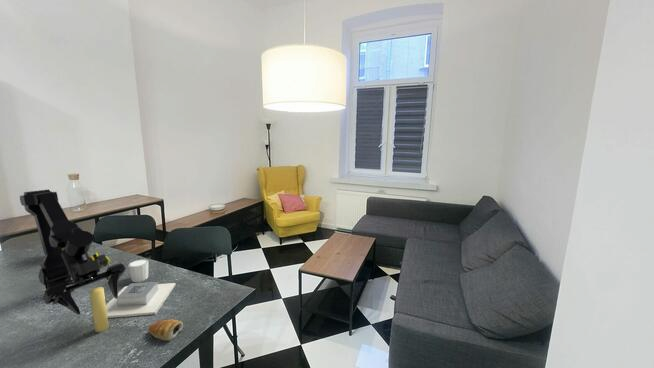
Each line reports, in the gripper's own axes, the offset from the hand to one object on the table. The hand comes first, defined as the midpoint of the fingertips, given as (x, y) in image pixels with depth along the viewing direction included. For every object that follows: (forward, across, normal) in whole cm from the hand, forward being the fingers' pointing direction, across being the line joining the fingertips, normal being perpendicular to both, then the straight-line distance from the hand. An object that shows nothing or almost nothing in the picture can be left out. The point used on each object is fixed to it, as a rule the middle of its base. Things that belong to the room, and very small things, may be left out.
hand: (98, 305), depth 81 cm
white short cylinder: (-10, +21, +21) cm, 31 cm away
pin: (+6, 0, +6) cm, 8 cm away
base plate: (+1, +13, +10) cm, 17 cm away
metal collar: (+1, +13, +10) cm, 17 cm away
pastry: (+19, +9, -7) cm, 22 cm away
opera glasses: (-30, +17, +41) cm, 53 cm away
